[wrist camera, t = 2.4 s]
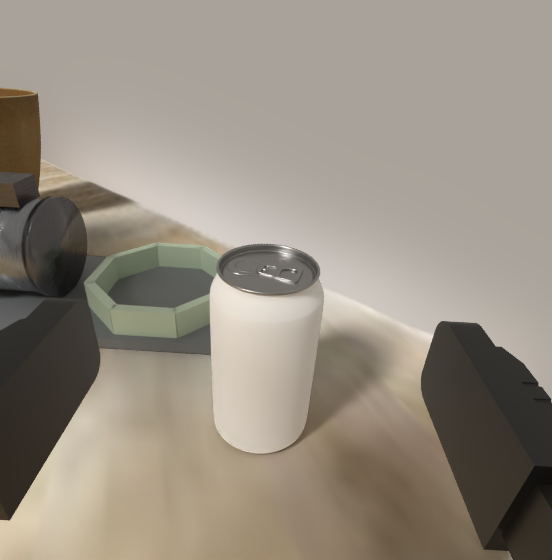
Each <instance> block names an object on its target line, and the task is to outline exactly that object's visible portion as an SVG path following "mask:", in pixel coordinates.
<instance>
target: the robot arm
mask: <svg viewBox="0 0 552 560" xmlns="http://www.w3.org/2000/svg"><path fill="white" fill-rule="evenodd" d="M99 366H100V351H99V346H98V342H97V337H96V333H95V329H94V324H93V320H92V315H91V311H90V307H89V305H88V303H87V302H86V301H85V300H78V299H60V298H47V299H45V300H44V301H43V302H42V303H41V304H40V305H39V306H38V307H37V308H36V309H35V310H34V311H33V312H31V313H30V314H29V315H28V316H27V317H26V318H25V319H20V320H18V321H16V322H14V323H12V324H11V325H9V326H7V327H5V328H4V329H2V330H0V520H10V519H11V518H12V516H13V514H14V513H15V511H16V509H17V508H18V506H19V504H20V503H21V501H22V499H23V498H24V496H25V494H26V493H27V491H28V490H29V488H30V486H31V485H32V483H33V481H34V480H35V478H36V476H37V475H38V473H39V471H40V470H41V468H42V466H43V465H44V463H45V461H46V460H47V458H48V457H49V455H50V453H51V452H52V450H53V448H54V447H55V445H56V443H57V442H58V440H59V438H60V437H61V435H62V433H63V432H64V430H65V428H66V427H67V425H68V423H69V422H70V420H71V419H72V417H73V415H74V414H75V412H76V410H77V409H78V407H79V405H80V404H81V402H82V400H83V399H84V397H85V395H86V394H87V392H88V390H89V389H90V387H91V386H92V384H93V382H94V381H95V379H96V377H97V374H98V371H99ZM421 390H422V396H423V399H424V402H425V404H426V407H427V409H428V412H429V414H430V417H431V419H432V422H433V424H434V427H435V429H436V432H437V434H438V437H439V439H440V442H441V444H442V447H443V449H444V452H445V454H446V457H447V459H448V462H449V464H450V467H451V469H452V472H453V474H454V477H455V479H456V482H457V484H458V487H459V489H460V492H461V494H462V497H463V499H464V502H465V504H466V507H467V509H468V512H469V514H470V517H471V519H472V522H473V524H474V527H475V529H476V532H477V534H478V537H479V539H480V542H481V544H482V547H483V549H485V550H502V551H509V552H510V554H511V556H512V559H513V560H552V403H551V398H550V397H549V396H548V395H547V393H546V392H545V391H544V389H543V388H542V387H539V386H538V382H537V380H536V379H535V378H534V377H533V375H532V374H531V373H530V371H529V370H528V369H527V368H526V366H525V365H524V364H523V363H522V362H521V361H519V360H518V359H516V358H515V357H514V356H513V355H511V354H510V353H509V352H507V351H506V350H505V349H503V348H502V347H496V346H495V345H494V344H493V342H492V341H491V340H490V338H489V337H488V335H487V334H486V333H485V331H484V330H483V328H482V327H481V326H480V325H479V324H477V323H465V322H447V321H442V322H440V323H439V324H438V325H437V327H436V330H435V333H434V336H433V339H432V342H431V346H430V349H429V352H428V355H427V358H426V361H425V364H424V368H423V371H422V376H421Z"/></svg>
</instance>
